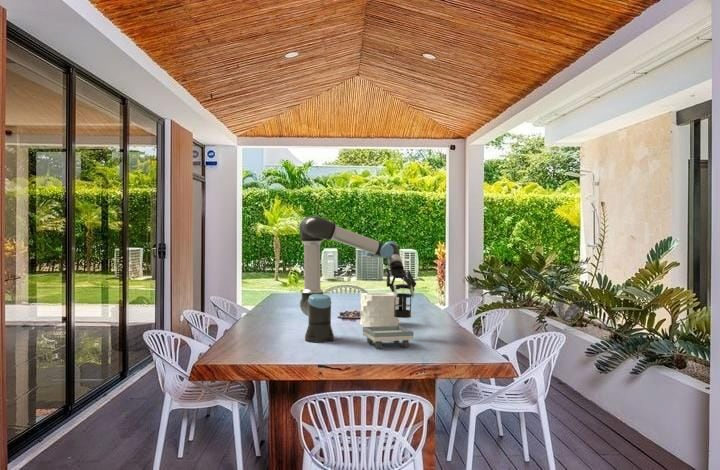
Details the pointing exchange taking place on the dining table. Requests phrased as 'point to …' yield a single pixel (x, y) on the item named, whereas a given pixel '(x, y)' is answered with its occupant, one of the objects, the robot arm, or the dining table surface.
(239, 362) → the dining table surface
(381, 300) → the basket
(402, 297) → the french press
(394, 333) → the grey tray with legs
